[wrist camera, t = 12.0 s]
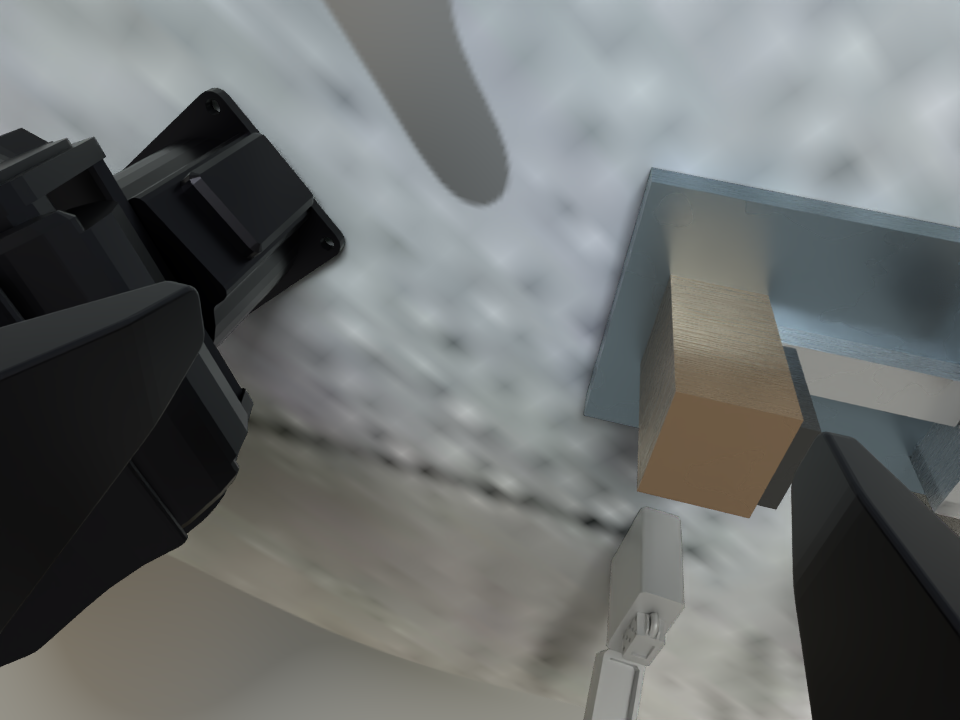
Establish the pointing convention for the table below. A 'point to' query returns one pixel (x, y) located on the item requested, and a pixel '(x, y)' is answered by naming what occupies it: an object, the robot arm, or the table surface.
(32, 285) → the robot arm
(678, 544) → the lighter
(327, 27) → the table surface
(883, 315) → the rail
